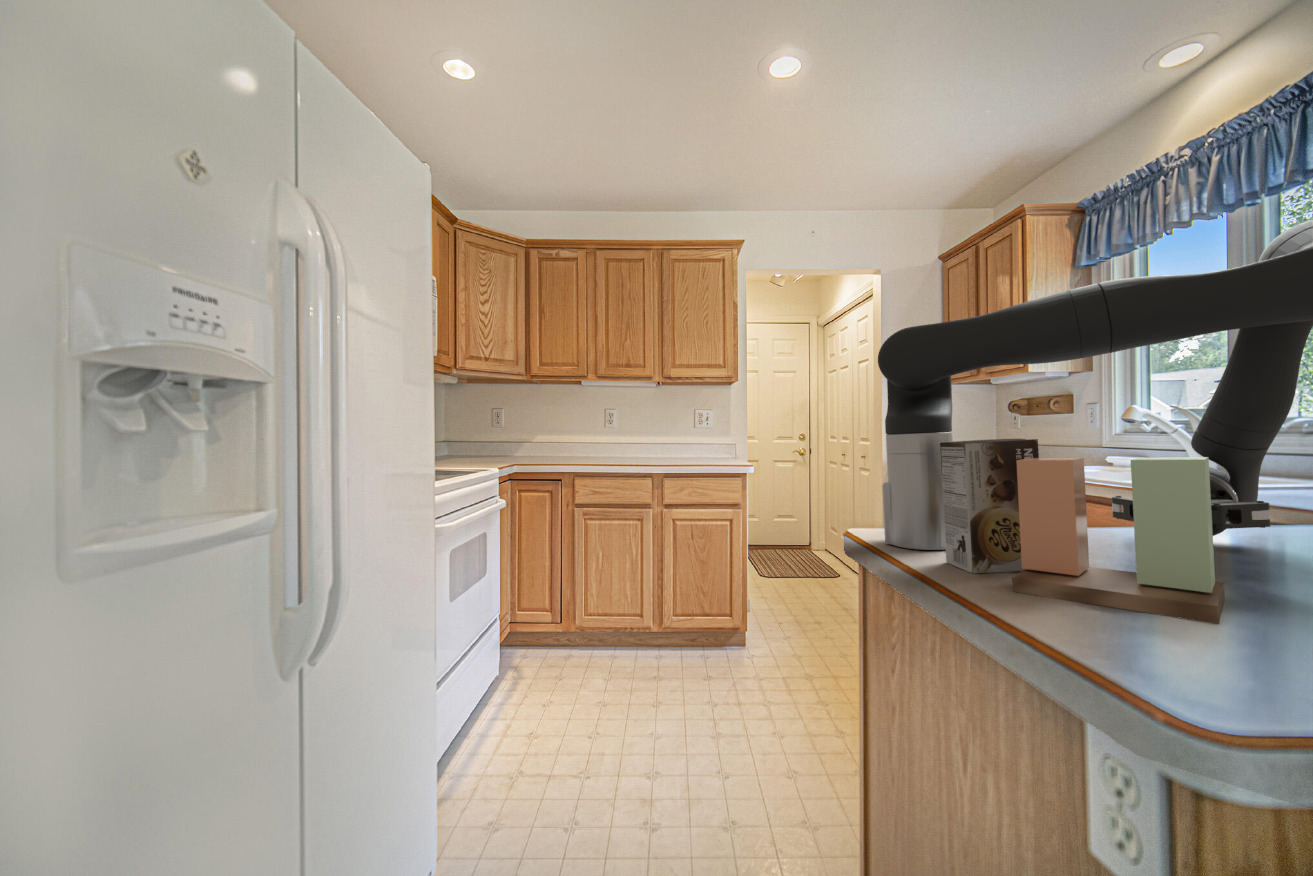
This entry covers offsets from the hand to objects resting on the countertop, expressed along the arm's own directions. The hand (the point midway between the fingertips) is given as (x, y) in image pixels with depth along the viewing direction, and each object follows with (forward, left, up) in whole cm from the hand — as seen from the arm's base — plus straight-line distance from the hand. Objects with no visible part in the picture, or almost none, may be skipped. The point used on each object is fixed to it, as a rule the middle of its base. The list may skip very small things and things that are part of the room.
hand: (1176, 520), depth 53 cm
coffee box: (-17, +2, -8) cm, 19 cm away
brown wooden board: (-5, -4, -8) cm, 10 cm away
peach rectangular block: (-10, -3, -6) cm, 11 cm away
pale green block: (0, -3, -6) cm, 6 cm away
